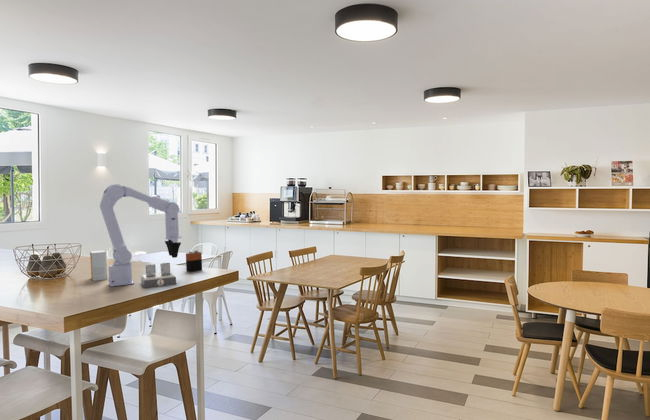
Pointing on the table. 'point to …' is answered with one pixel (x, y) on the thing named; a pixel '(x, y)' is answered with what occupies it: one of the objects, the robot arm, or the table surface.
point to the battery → (193, 261)
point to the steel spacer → (165, 269)
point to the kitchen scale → (158, 280)
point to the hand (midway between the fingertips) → (173, 256)
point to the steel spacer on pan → (150, 270)
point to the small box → (98, 265)
